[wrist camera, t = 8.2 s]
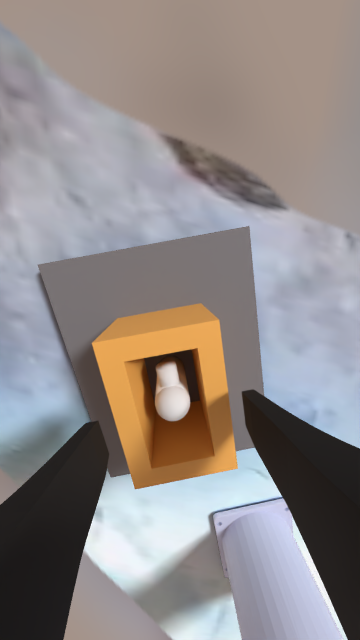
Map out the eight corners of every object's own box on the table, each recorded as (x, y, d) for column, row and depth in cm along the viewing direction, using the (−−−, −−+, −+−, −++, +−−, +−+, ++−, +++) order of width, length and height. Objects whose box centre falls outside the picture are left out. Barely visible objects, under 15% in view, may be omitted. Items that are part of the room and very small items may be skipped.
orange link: (216, 410, 16) (237, 468, 12) (144, 424, 16) (135, 489, 11) (200, 303, 14) (219, 319, 9) (117, 318, 14) (91, 343, 9)
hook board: (262, 435, 19) (307, 510, 13) (113, 466, 18) (89, 557, 12) (243, 229, 14) (297, 200, 8) (46, 265, 14) (-40, 260, 8)
